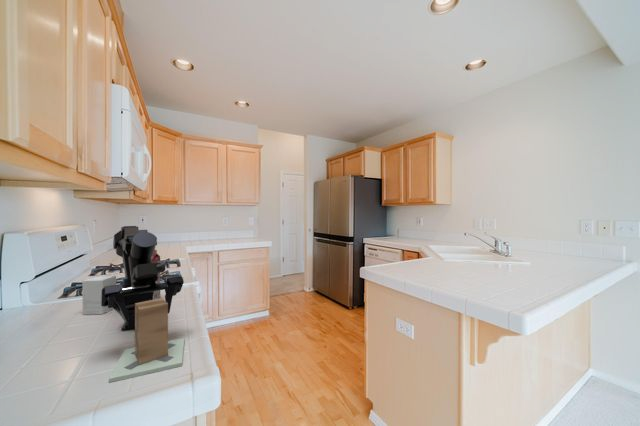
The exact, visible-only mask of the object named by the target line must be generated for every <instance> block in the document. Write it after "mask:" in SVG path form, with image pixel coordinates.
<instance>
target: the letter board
mask: <svg viewBox="0 0 640 426" xmlns="http://www.w3.org/2000/svg"><path fill="white" fill-rule="evenodd" d="M184 350H185V337H183V338H177V339H172V340H168V355H167V356H164V357H161V358H158V359H155V360H152V361H149V362H146V363H143V364H140V365H139V363H138V361H137V358H136V356H135V346H134V347H129V348H125V349H124V350H123V352H122V353H121V354H120V357H119V360H118V361H117V363H116V365H115V367H114V368H113V371H112V372H111V374H110V376H109V378H108V383H114V382H118V381H122V380H126V379H130V378H131V379H132V378H135V377H140V376H144V375H145V376H146V375H148V374H153V373H154V374H155V373H156V372H158V373H159V372H161V371H165V370H171V369H175V368H180V367H182V366H183V361H184V360H183V359H184V358H183V357H184V352H185V351H184Z"/></svg>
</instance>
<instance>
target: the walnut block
mask: <svg viewBox="0 0 640 426" xmlns="http://www.w3.org/2000/svg"><path fill="white" fill-rule="evenodd" d="M168 341H169V313H168V303H167V302H166V301H165V298H162V297H160V299H155V300H150V301H145V302H139V303H135V329H134V347H135V356H136V358H137V361H138V363H139V365H140V364H143V363H146V362H149V361H152V360H155V359H158V358H161V357H164V356H167V355H168Z"/></svg>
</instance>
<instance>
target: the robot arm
mask: <svg viewBox="0 0 640 426" xmlns="http://www.w3.org/2000/svg"><path fill="white" fill-rule="evenodd" d="M112 240H113V241H112V243H113V245H112V247H113V250H115V254H116V255H117V256H119V257H121V259H122V265H123V270H124V277H125V278H124V280H123V284H121V283H120V284H116V285H111V286H105V287H104V288H103V289H102V293H101V306H104V307H105V306H108V308H114V309H113V310H115V311H116V313H118V314H119V315H120V316H121V318H122V319H123V321H124V324H123V326H122V327H121V328H120V330H121V331H123V332H124V331H127V330H133V329H134V330H135V303H139V302H145V301H150V300H153V295H154V291H159V290H160V291H162V290H163V291H164V293H165V295H164V300H165V301H166V302H167V303H168V314H170V311H171V307H172V301H173V297H175V296H177V294H178V293H180V292H181V291H182V288H183V284H184V283H185V282H184V277H183V276H181V275H174V276H167V278H166V281H165V282H160V283H158V284H156V281H157V280H158V276H157V275H158V273H160V274H163V273H165V271H166V263H165V260H161V259H160V261H157V262H156V263H153V262H152V256H153V254H154V251H155V250H156V246H157V245H158V238H157V236H156V235H155V234H154V233H152V232H149V231H148V229H139V226H137V225H124V226H121V227H120V230H119V231H118V232H116V233H115V234H114V235H113V239H112Z"/></svg>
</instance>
